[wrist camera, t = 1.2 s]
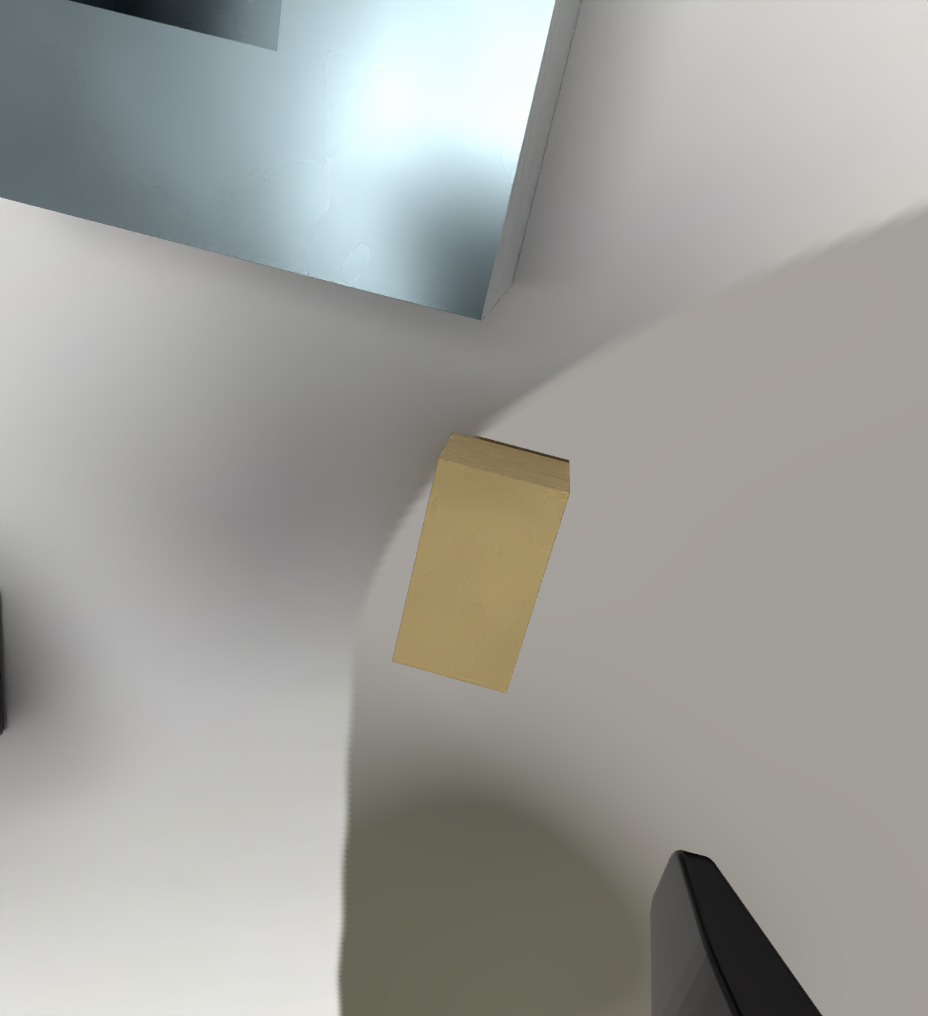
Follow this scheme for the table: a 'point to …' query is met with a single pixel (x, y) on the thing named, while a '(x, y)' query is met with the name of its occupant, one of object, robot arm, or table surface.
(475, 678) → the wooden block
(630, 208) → the table surface
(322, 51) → the box
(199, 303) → the table surface
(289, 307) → the table surface
